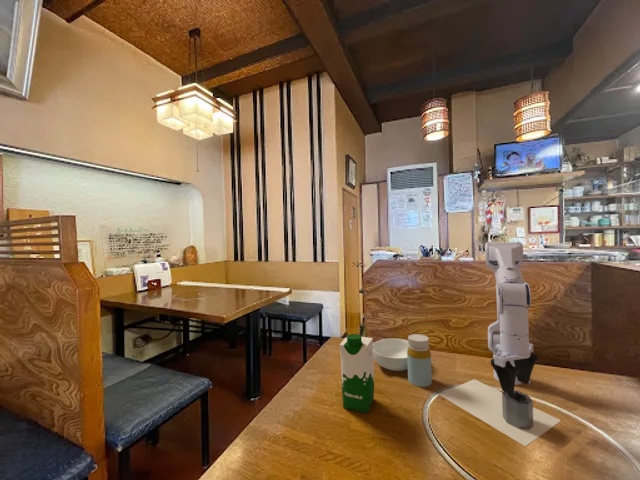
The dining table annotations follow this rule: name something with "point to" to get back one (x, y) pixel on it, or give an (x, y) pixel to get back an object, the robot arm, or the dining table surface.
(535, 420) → the board
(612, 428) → the dining table surface
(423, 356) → the bottle
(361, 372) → the milk carton
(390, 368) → the cereal bowl
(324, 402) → the dining table surface
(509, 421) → the gray faceted cup
